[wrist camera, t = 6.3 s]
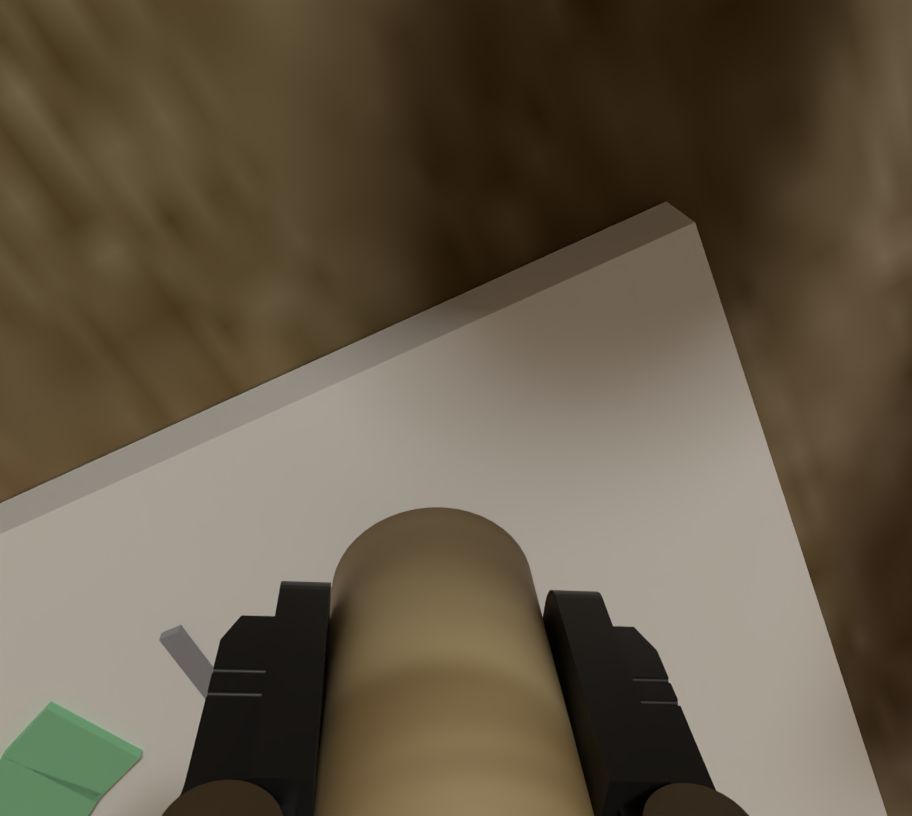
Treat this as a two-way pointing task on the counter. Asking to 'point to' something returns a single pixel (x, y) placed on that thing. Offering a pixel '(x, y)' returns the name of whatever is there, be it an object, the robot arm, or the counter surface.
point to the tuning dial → (442, 679)
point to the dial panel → (450, 486)
